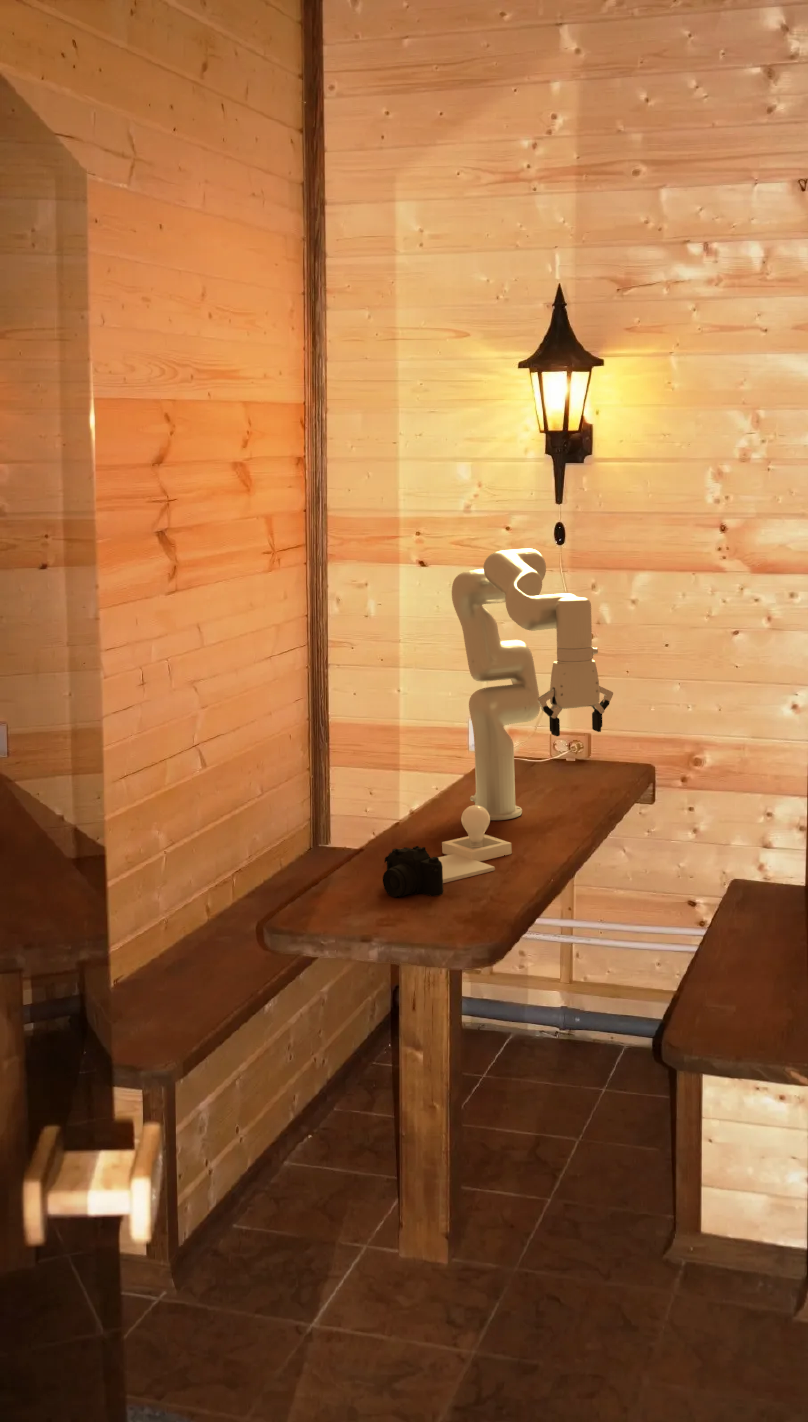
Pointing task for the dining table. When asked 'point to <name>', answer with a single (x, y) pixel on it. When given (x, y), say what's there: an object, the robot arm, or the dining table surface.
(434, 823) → the dining table surface
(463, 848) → the socket collar
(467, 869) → the felt mat
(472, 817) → the lightbulb
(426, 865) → the film camera
